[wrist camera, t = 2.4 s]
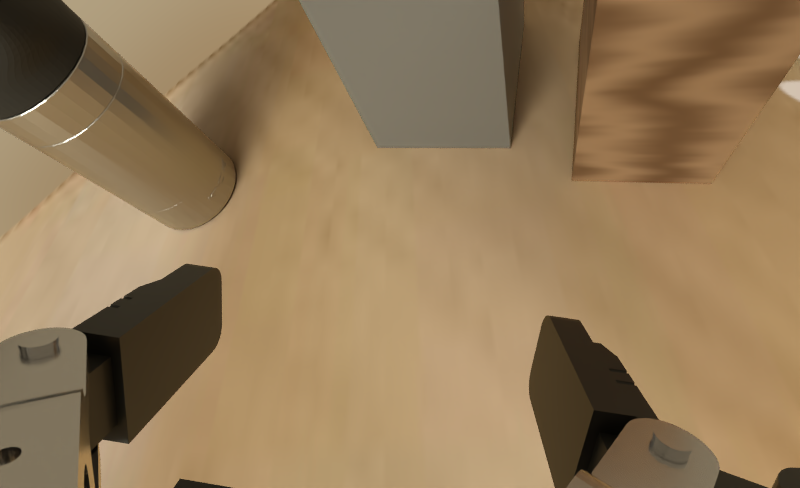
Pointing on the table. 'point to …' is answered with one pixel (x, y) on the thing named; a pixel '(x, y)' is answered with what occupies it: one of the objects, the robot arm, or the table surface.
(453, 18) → the charcoal pedestal
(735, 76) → the block
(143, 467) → the table surface
